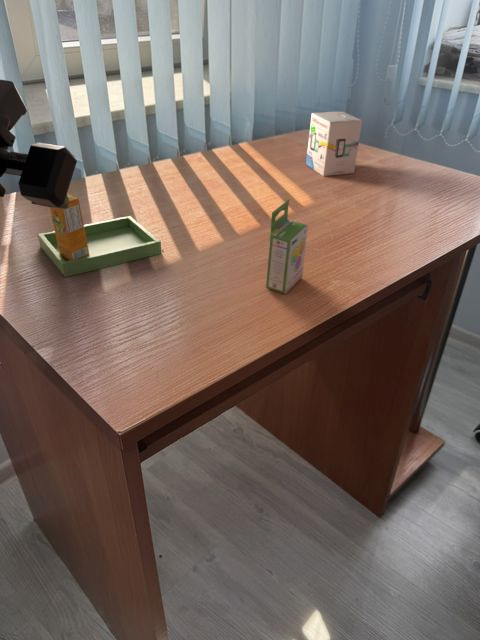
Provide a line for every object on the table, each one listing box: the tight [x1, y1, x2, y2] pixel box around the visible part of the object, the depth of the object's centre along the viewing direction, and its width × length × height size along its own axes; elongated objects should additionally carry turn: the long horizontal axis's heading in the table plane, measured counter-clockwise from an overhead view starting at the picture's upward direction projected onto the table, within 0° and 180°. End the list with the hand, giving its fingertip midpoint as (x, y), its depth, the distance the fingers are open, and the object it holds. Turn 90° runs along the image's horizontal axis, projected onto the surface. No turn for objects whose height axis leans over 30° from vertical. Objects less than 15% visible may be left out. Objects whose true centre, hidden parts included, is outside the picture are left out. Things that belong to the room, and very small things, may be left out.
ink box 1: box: [265, 199, 309, 295], centre depth 74 cm, size 6×4×12 cm, turn 153°
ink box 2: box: [305, 110, 363, 177], centre depth 118 cm, size 8×8×12 cm
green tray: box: [37, 215, 162, 278], centre depth 82 cm, size 15×11×2 cm
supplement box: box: [49, 192, 90, 261], centre depth 74 cm, size 3×3×10 cm
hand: (35, 199), depth 66 cm, fingers open, 9 cm apart
